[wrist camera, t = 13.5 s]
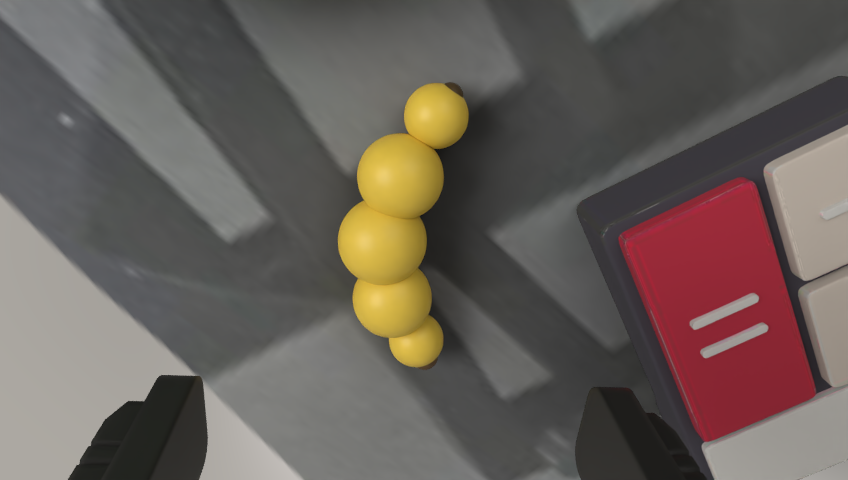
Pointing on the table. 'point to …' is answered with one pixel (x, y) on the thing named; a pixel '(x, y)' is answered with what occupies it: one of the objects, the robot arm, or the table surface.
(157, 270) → the table surface
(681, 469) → the robot arm
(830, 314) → the calculator
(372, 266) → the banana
